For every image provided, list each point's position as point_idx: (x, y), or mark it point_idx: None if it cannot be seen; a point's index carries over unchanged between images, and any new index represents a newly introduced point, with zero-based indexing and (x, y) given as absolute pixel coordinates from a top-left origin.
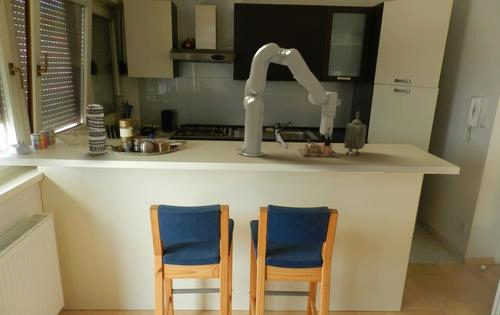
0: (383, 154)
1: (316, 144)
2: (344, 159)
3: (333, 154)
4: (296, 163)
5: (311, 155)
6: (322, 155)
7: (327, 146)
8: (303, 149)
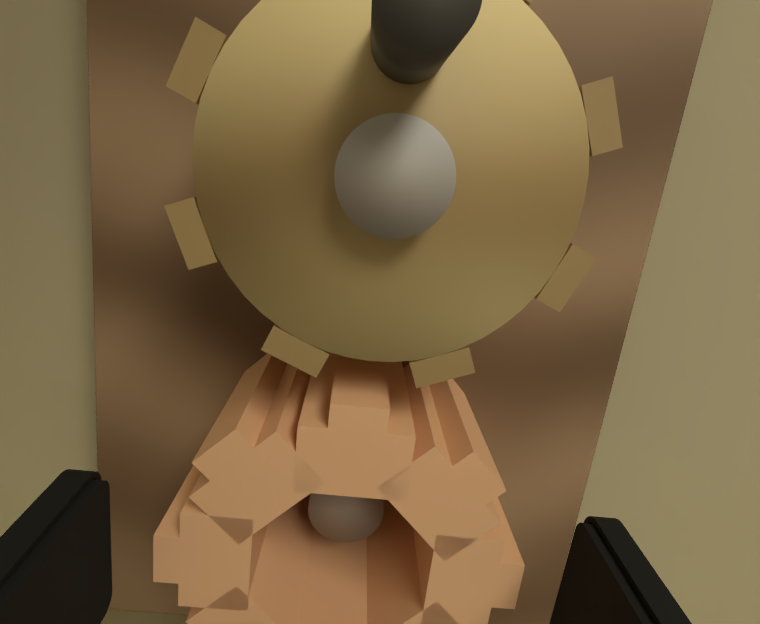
0: None
1: (304, 296)
2: None
3: (142, 534)
4: None
5: (101, 66)
6: (103, 314)
7: (162, 543)
8: (619, 37)
